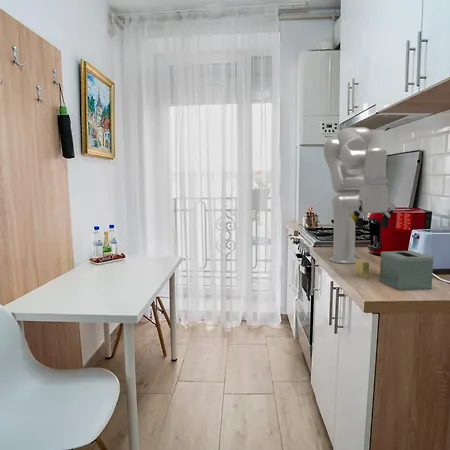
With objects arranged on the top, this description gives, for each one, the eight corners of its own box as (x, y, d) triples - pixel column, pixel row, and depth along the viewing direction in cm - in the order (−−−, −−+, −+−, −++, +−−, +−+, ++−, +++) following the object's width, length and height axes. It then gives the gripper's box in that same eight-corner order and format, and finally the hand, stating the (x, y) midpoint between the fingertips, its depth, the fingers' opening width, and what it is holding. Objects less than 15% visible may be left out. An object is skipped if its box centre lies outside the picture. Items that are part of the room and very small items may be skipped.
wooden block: (355, 273, 141) (355, 259, 141) (361, 273, 142) (361, 259, 141) (362, 277, 135) (363, 262, 135) (368, 277, 136) (369, 262, 135)
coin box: (379, 280, 131) (380, 251, 130) (410, 279, 132) (411, 250, 131) (398, 290, 119) (399, 258, 118) (431, 288, 120) (433, 257, 119)
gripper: (390, 182, 134) (388, 226, 136) (347, 182, 132) (346, 227, 134) (402, 182, 127) (400, 228, 129) (356, 182, 125) (355, 230, 127)
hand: (372, 228), depth 132 cm, fingers open, 9 cm apart
